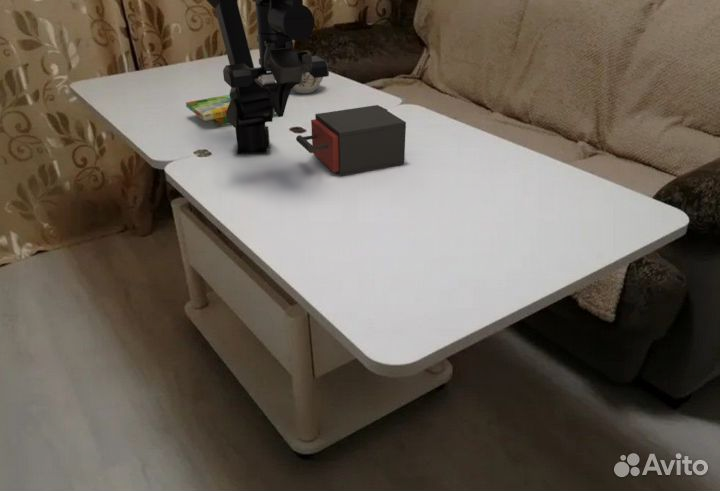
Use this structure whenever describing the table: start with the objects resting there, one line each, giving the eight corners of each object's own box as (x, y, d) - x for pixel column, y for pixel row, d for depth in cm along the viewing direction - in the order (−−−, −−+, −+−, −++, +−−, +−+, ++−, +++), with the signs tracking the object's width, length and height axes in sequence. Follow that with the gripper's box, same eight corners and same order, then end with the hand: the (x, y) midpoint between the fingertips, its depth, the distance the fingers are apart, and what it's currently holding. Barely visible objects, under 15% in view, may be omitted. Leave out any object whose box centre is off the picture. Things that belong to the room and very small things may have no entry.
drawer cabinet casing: (340, 176, 118) (339, 132, 114) (316, 154, 128) (315, 113, 124) (404, 164, 124) (406, 122, 119) (377, 144, 134) (377, 104, 129)
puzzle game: (278, 97, 148) (201, 111, 139) (280, 116, 151) (204, 130, 141) (259, 86, 157) (185, 99, 147) (260, 104, 159) (188, 117, 150)
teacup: (314, 82, 178) (313, 55, 173) (334, 93, 168) (333, 64, 164) (268, 89, 171) (265, 61, 167) (285, 101, 162) (283, 71, 158)
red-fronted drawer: (313, 176, 116) (311, 140, 113) (293, 156, 125) (291, 122, 122) (393, 160, 123) (394, 127, 119) (369, 143, 132) (369, 111, 128)
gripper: (234, 45, 96) (244, 137, 104) (339, 35, 103) (341, 122, 111) (217, 32, 105) (227, 118, 113) (316, 24, 112) (319, 105, 120)
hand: (279, 116), depth 114 cm, fingers closed
